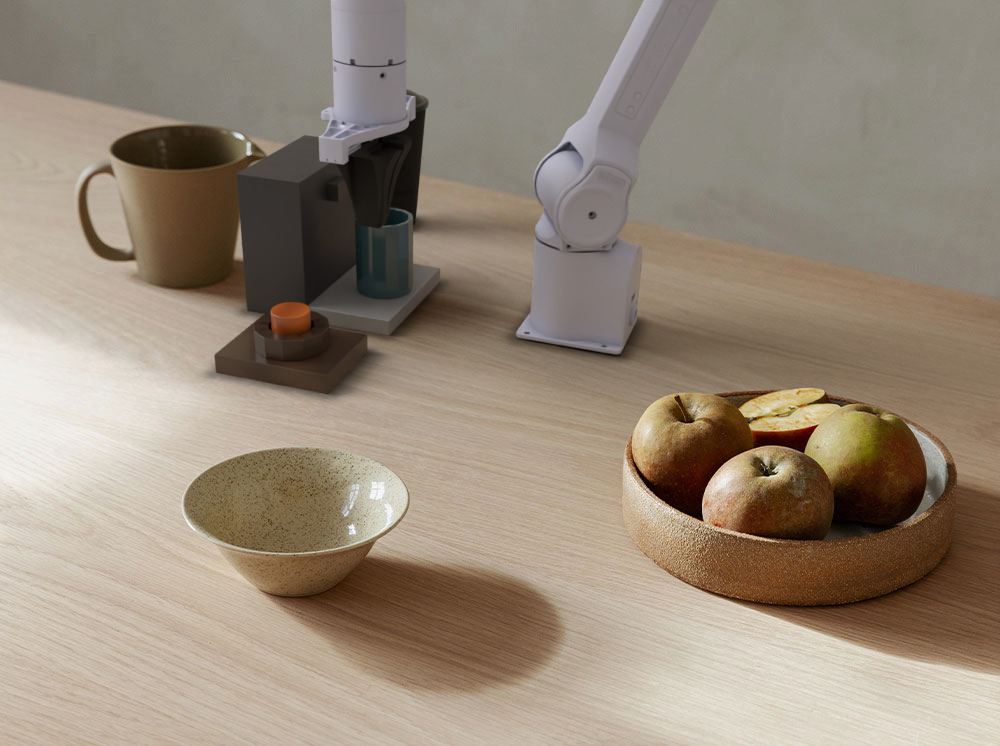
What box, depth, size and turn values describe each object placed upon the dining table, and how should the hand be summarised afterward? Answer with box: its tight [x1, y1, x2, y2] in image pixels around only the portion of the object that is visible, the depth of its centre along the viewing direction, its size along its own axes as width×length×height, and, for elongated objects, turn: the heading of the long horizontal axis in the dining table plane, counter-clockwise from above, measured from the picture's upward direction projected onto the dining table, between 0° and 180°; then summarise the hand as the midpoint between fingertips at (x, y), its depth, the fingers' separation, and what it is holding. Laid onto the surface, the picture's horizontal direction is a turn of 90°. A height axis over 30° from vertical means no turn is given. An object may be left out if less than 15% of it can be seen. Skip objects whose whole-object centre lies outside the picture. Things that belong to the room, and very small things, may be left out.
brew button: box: [271, 302, 311, 335], centre depth 90 cm, size 3×3×2 cm
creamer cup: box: [355, 207, 414, 299], centre depth 101 cm, size 5×5×7 cm
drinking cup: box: [390, 88, 430, 227], centre depth 118 cm, size 8×8×20 cm
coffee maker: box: [236, 134, 441, 337], centre depth 101 cm, size 14×13×13 cm
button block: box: [214, 311, 369, 395], centre depth 91 cm, size 10×8×4 cm
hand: (371, 224), depth 92 cm, fingers closed
